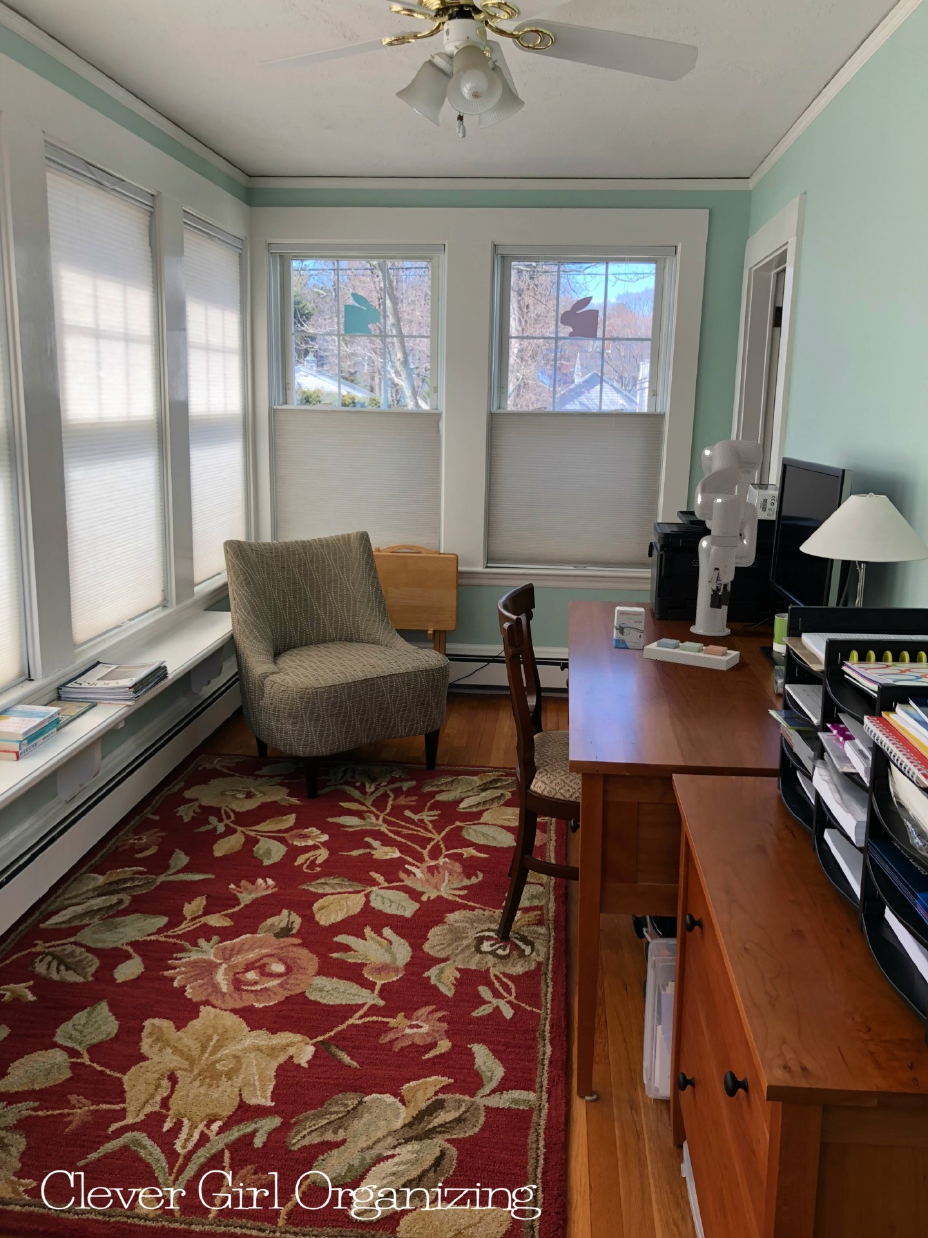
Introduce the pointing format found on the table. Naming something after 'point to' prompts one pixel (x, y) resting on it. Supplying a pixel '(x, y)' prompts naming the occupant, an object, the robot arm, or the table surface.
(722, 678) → the table surface
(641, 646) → the ink box
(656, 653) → the button panel
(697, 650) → the sage button
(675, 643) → the slate button
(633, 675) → the table surface
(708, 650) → the terracotta button
